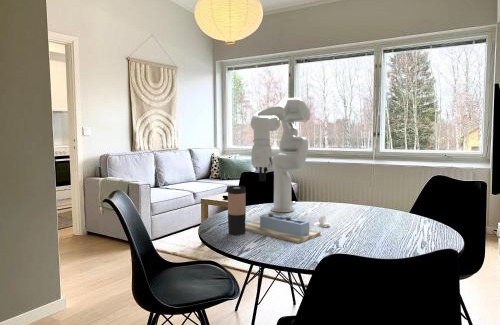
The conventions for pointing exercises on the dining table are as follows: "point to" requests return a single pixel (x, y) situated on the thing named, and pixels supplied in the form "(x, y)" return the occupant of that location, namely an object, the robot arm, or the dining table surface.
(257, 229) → the board
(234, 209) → the travel mug
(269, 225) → the blue slotted peg holder
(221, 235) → the dining table surface
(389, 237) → the dining table surface
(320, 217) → the white curved piece
